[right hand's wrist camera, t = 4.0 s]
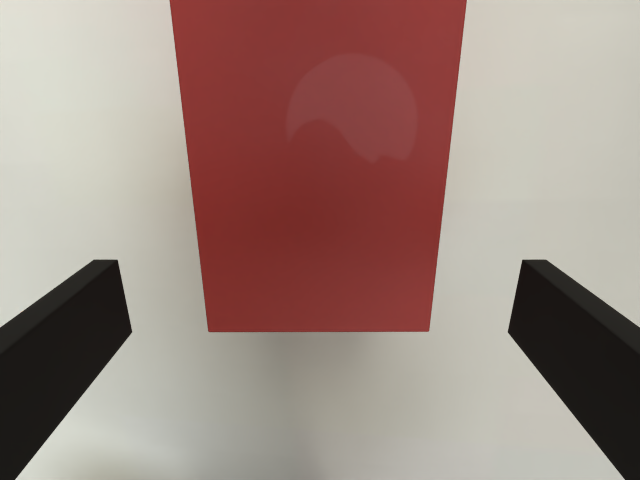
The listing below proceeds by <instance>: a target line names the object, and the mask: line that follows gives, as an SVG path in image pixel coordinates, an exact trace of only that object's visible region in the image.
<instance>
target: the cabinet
mask: <svg viewBox="0 0 640 480" xmlns="http://www.w3.org/2000/svg"><path fill="white" fill-rule="evenodd" d="M466 2H467V0H170V7H171V16H172V24H173V33H174V41H175V50H176V58H177V67H178V76H179V84H180V93H181V101H182V110H183V119H184V127H185V136H186V144H187V153H188V161H189V170H190V179H191V187H192V196H193V204H194V213H195V221H196V230H197V239H198V247H199V256H200V264H201V273H202V281H203V290H204V299H205V307H206V316H207V324H208V331H209V332H428V331H429V327H430V318H431V310H432V301H433V292H434V283H435V274H436V266H437V257H438V248H439V239H440V230H441V222H442V213H443V204H444V195H445V187H446V178H447V169H448V160H449V151H450V143H451V134H452V125H453V116H454V107H455V99H456V90H457V81H458V72H459V64H460V55H461V46H462V37H463V28H464V20H465V11H466Z"/></svg>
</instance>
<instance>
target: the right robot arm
mask: <svg viewBox="0 0 640 480" xmlns="http://www.w3.org/2000/svg"><path fill="white" fill-rule="evenodd" d="M131 333H132V329H131V324H130V319H129V314H128V309H127V304H126V299H125V294H124V289H123V284H122V279H121V274H120V269H119V264H118V260H93V261H92V262H90V263H89V264H87V265H86V266H85V267H83V268H82V269H80V270H79V271H78V272H76V273H75V274H74V275H72V276H71V277H69V278H68V279H67V280H65V281H64V282H63V283H61V284H60V285H58V286H57V287H56V288H54V289H53V290H51V291H50V292H49V293H47V294H46V295H45V296H43V297H42V298H40V299H39V300H38V301H36V302H35V303H34V304H32V305H31V306H29V307H28V308H27V309H25V310H24V311H23V312H21V313H20V314H18V315H17V316H16V317H14V318H13V319H11V320H10V321H9V322H7V323H6V324H5V325H3V326H2V327H0V480H15V479H16V478H17V477H18V475H19V474H20V473H21V471H22V470H23V469H24V468H25V466H26V465H27V464H28V463H29V461H30V460H31V459H32V458H33V456H34V455H35V454H36V453H37V451H38V450H39V449H40V448H41V446H42V445H43V444H44V443H45V441H46V440H47V439H48V437H49V436H50V435H51V434H52V432H53V431H54V430H55V429H56V427H57V426H58V425H59V424H60V422H61V421H62V420H63V419H64V417H65V416H66V415H67V414H68V412H69V411H70V410H71V409H72V407H73V406H74V405H75V404H76V402H77V401H78V400H79V398H80V397H81V396H82V395H83V393H84V392H85V391H86V390H87V388H88V387H89V386H90V385H91V383H92V382H93V381H94V380H95V378H96V377H97V376H98V375H99V373H100V372H101V371H102V370H103V368H104V367H105V366H106V365H107V363H108V362H109V361H110V359H111V358H112V357H113V356H114V354H115V353H116V352H117V351H118V349H119V348H120V347H121V346H122V344H123V343H124V342H125V341H126V339H127V338H128V337H129V336H130V334H131ZM508 333H509V334H510V336H511V337H512V338H513V339H514V341H515V342H516V343H517V344H518V346H519V347H520V348H521V349H522V351H523V352H524V353H525V354H526V356H527V357H528V358H529V359H530V361H531V362H532V363H533V365H534V366H535V367H536V368H537V370H538V371H539V372H540V373H541V375H542V376H543V377H544V378H545V380H546V381H547V382H548V383H549V385H550V386H551V387H552V388H553V390H554V391H555V392H556V393H557V395H558V396H559V397H560V398H561V400H562V401H563V402H564V404H565V405H566V406H567V407H568V409H569V410H570V411H571V412H572V414H573V415H574V416H575V417H576V419H577V420H578V421H579V422H580V424H581V425H582V426H583V427H584V429H585V430H586V431H587V432H588V434H589V435H590V436H591V437H592V439H593V440H594V441H595V443H596V444H597V445H598V446H599V448H600V449H601V450H602V451H603V453H604V454H605V455H606V456H607V458H608V459H609V460H610V461H611V463H612V464H613V465H614V466H615V468H616V469H617V470H618V471H619V473H620V474H621V475H622V477H623V478H624V479H625V480H640V327H638V326H637V325H635V324H634V323H633V322H631V321H630V320H629V319H627V318H626V317H624V316H623V315H622V314H620V313H619V312H617V311H616V310H615V309H613V308H612V307H611V306H609V305H608V304H606V303H605V302H604V301H602V300H601V299H600V298H598V297H597V296H595V295H594V294H593V293H591V292H590V291H589V290H587V289H586V288H584V287H583V286H582V285H580V284H579V283H577V282H576V281H575V280H573V279H572V278H571V277H569V276H568V275H566V274H565V273H564V272H562V271H561V270H560V269H558V268H557V267H555V266H554V265H553V264H551V263H550V262H548V261H547V260H522V264H521V269H520V274H519V279H518V284H517V289H516V294H515V299H514V304H513V309H512V314H511V319H510V324H509V329H508Z"/></svg>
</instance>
